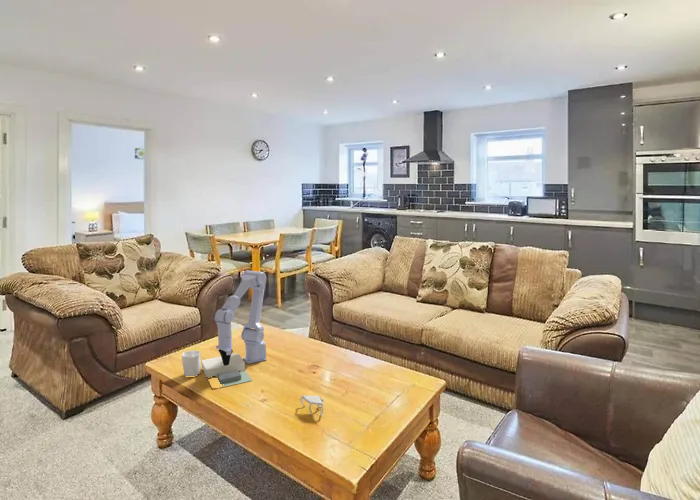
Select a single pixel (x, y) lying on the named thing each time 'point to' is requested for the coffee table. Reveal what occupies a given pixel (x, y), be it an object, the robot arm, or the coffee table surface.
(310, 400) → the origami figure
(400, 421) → the coffee table surface
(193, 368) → the white cup
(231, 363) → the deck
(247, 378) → the mat
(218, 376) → the gray rectangular block
